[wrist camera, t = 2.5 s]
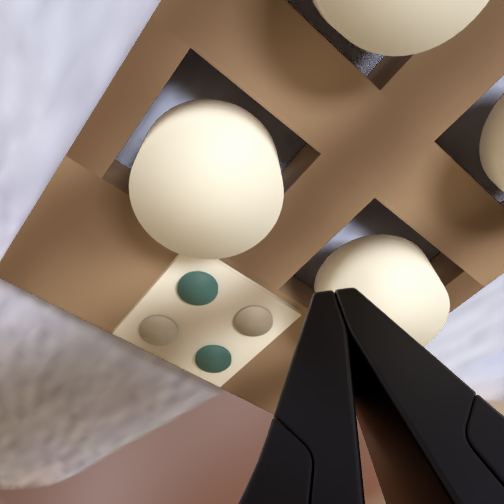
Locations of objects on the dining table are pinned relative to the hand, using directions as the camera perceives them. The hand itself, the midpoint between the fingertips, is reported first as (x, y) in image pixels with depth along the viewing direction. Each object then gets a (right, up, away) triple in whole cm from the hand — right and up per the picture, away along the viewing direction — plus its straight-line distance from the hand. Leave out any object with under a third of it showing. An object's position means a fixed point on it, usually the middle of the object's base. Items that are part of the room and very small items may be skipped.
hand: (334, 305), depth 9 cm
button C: (+4, 0, +11) cm, 12 cm away
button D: (-3, +4, +8) cm, 10 cm away
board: (+1, +4, +11) cm, 12 cm away
